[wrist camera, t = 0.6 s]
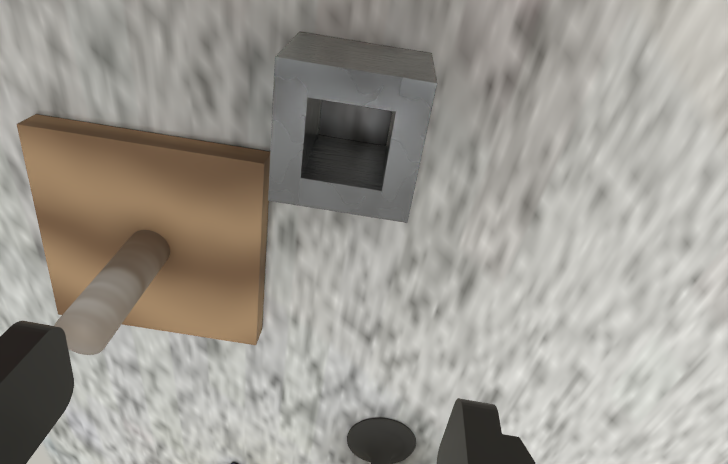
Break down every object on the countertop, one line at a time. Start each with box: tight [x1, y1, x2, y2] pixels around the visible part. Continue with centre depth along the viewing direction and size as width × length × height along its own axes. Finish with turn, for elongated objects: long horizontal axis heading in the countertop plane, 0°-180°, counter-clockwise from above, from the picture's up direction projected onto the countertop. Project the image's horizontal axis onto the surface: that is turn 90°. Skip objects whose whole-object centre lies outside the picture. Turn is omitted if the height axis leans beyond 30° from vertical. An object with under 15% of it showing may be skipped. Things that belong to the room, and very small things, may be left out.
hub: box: [268, 32, 437, 223], centre depth 23 cm, size 6×6×5 cm
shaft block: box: [17, 114, 270, 355], centre depth 26 cm, size 12×12×8 cm
